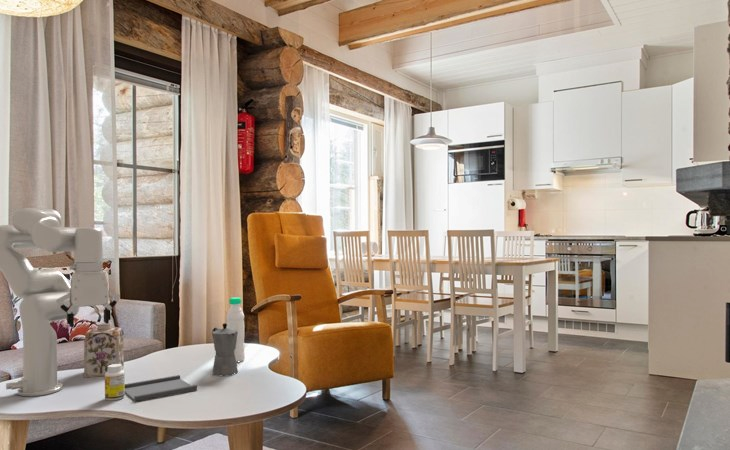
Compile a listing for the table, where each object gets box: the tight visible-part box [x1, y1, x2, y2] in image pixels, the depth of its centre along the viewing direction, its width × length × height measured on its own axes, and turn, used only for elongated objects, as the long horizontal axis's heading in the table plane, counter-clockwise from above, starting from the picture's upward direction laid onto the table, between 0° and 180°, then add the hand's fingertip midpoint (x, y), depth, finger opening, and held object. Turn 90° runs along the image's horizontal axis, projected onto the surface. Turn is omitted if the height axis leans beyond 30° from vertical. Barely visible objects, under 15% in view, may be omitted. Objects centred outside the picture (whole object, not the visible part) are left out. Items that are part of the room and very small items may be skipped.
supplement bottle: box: [104, 364, 126, 401], centre depth 169 cm, size 6×6×10 cm
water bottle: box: [225, 297, 246, 363], centre depth 217 cm, size 7×7×25 cm
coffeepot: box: [211, 322, 239, 376], centre depth 200 cm, size 15×9×18 cm, turn 44°
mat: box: [124, 374, 198, 403], centre depth 178 cm, size 19×17×2 cm
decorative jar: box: [83, 322, 125, 378], centre depth 201 cm, size 12×12×18 cm
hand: (89, 324), depth 166 cm, fingers open, 9 cm apart
